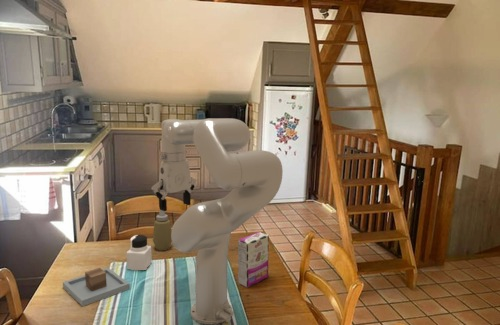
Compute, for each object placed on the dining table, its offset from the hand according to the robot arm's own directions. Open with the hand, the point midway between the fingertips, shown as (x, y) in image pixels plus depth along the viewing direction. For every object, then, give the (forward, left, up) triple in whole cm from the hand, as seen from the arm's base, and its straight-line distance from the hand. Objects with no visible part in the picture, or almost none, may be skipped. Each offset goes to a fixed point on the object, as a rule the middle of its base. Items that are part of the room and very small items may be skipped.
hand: (175, 207), depth 133 cm
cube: (+15, +22, -27) cm, 38 cm away
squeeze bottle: (+29, -13, -28) cm, 43 cm away
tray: (+15, +22, -28) cm, 38 cm away
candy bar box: (-17, -21, -28) cm, 39 cm away
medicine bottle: (+20, +3, -28) cm, 35 cm away
